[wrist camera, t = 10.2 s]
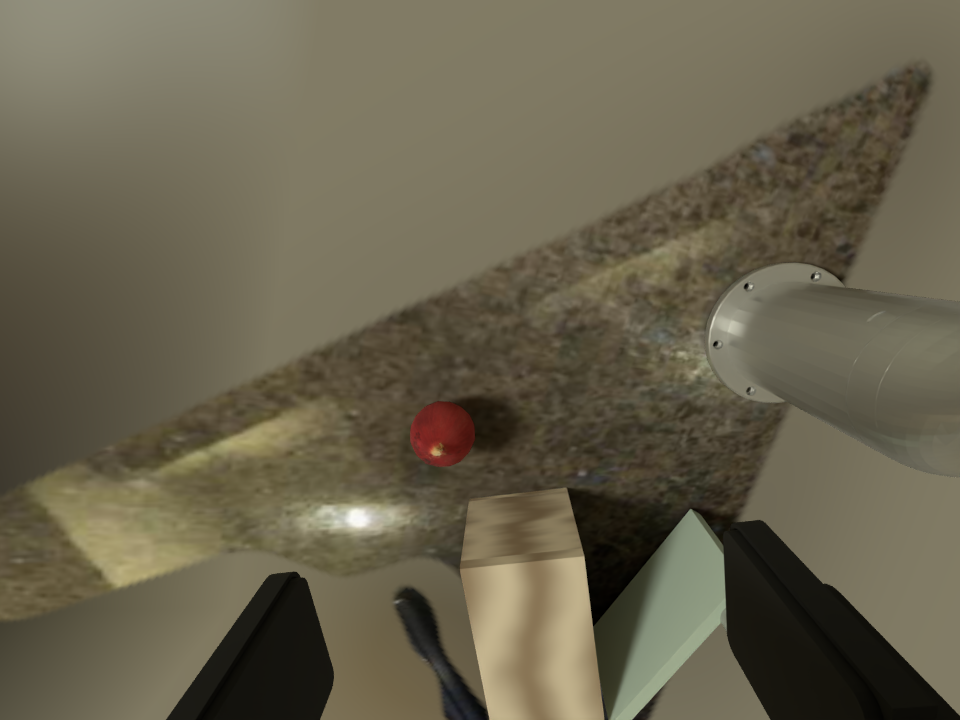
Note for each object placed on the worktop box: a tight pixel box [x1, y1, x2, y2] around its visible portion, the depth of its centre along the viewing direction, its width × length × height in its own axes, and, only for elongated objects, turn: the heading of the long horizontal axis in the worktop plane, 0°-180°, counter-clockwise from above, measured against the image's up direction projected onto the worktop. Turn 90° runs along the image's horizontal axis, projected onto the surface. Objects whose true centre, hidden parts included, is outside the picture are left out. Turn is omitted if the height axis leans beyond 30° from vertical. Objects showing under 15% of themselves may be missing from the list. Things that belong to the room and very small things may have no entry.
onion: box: [410, 401, 475, 467], centre depth 41 cm, size 6×6×8 cm
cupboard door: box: [593, 509, 727, 720], centre depth 39 cm, size 3×18×18 cm, turn 149°
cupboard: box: [460, 488, 604, 720], centre depth 43 cm, size 10×18×10 cm, turn 9°
